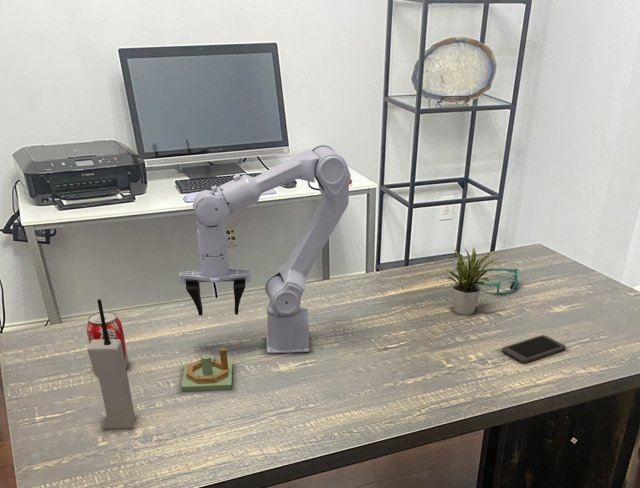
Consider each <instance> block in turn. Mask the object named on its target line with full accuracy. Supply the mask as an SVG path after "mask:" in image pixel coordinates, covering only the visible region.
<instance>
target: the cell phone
mask: <svg viewBox="0 0 640 488" xmlns="http://www.w3.org/2000/svg"><path fill="white" fill-rule="evenodd" d="M565 350H566V345H565V344H563V343H561V342H559V341H557V340H555V339H553V338H551V337H549V336H547V335H544V334H542V335H538V336H535V337H532V338H529V339H525V340H522V341H519V342H516V343H512V344H509V345H507V346H504V347H503V346H502V348H501V351H502V352H503V353H504V354H506V355H507V356H509V357H512V358H513V359H514V360H517V361H518V362H520V363H523V364H527V363H530V362H533V361H535V360H538V359H542V358H544V357H548V356H551V355H554V354H556V353H559V352H562V351H565Z"/></svg>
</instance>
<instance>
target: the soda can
mask: <svg viewBox="0 0 640 488" xmlns="http://www.w3.org/2000/svg"><path fill="white" fill-rule="evenodd" d="M103 313H104V318H105V323H106V326H107V330H108V335H109V339H120V340H121V343H122V348H123V354H124V359H125V365H126V368H127V367H128V365H129V358H128V357H129V355H128V351H127V350H128V349H127V345H126V339H125V335H124V329H123V325H122V321H121V320H120V319H119V318H118V314H117V313H115V312H113V311H109V310H103ZM85 328H86V335H87V339H88V340H87V341H88V345H89V344H90V342H91V340H100V339H104V336H103V331H102V322H101V317H100V312H99V311H97V312H94V313H91V314H89V315H88V316H87V323H86V326H85Z"/></svg>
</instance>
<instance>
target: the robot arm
mask: <svg viewBox="0 0 640 488" xmlns="http://www.w3.org/2000/svg"><path fill="white" fill-rule="evenodd" d="M351 177H352V175H351V172H350V169H349V166H348V164H347V162H346V160H345V159H344V158H343V156H341V155H339V154H338V153H337V152H336V151H335V150H334V149H333V148H332V147H331V146H330V145H327V144H320V145H317V146H314V147H313V148H310V149H309V148H308V149H305V150H303V151H301V152H300V153H298V154H296V155H294V156H293V157H291V158H289V159H286V160H285V161H283V162H281V163H279V164H277V165H275V166H273V167H272V168H270V169H267V170H266V171H263V172H262V173H260V174H258V175H256V176H251V175H248V174H243V175H240V174H239V173H237V174H235V175H233V176H232V178H233V179H232V180H230V181H227V182H225V183H223V184H221V185H218V186H217V185H216V184H215V185H213V186H211V190H208V189H205V190H201V191H199V192H198V193H197V194H196V196H195V197H194V199H193V203H192V208H193V210H194V212H195V216H196V228H197V230H196V236H197V245H198V246H197V247H198V255H199V256H198V257H199V265H200V269H195V270H189V271H180V272H179V283H180V285H185V290H186V292H187V293H188V295H189V296H190V298H191V299H192V301H193V303H194V305H195V308H196V310H197V313H198V316H200V317H201V316H203V312H204V310H203V309H204V308H203V303H202V297H201V287H200V285H201V284H200V283H210V284H216V283H217V284H218V283H221V282H222V283H224V282H227V283H228V282H229V283H230V282H233V297H234V315H239V308H240V303H241V299H242V297H243V294H244V291H245V290H246V283H251V270H249V269H248V270H247V269H246V270H245V269H235V268H229V258H228V244H227V233H226V229H225V223H224V222H225V219H226V217H227V216H231V215H233V214H235V213H237V212H239V211H242V210H244V209H246V208H248V207H251V206H253V205H254V204H257V203H258V202H259V200H260V199H261V195H262V194H264V193H266V192H268V191H271V190H273V189H276V188H279V187H282V186H284V185H286V184H289V183H291V182H293V181H296V180H301V181H306V182H309V183H315V182H317V186H318V188H319V189H318V190H319V193H320V196H321V200H320V202H319V203H318V205H317V207H316V209H315V211H314V213H313V215H312V216H311V218H310V220H309V222H308V223H307V224H306V227H305V229H304V231H303V232H302V234H301V236H300V238H299V239H298V241H297V243H296V245H295V246H294V249H293V250H292V252H291V254H290V255H289V257H288V259H287V261H286V262H285V263H284V264H282V265H281V266H279V268H278V269H277V271H276V272H275V273H273V275H270V277H269V278H268V279H267V280H266V282H265V285H264V286H265V287H264V289H265V293H266V295H267V297H268V299H269V302H268V304H267V306H266V320H267V321H266V322H267V336H266V353H267V354H288V353H291V354H293V353H309V352H310V340H311V332H310V317H309V308H306V307H300V306H301V299H302V295H303V293H304V291H305V289H306V288H305V287H306V281H307V276H308V275H309V274H310V272H311V270H312V268H313V267H314V264H315V263H316V261H317V259H318V258H319V256H320V254H321V253H322V251H323V249H324V247H325V246H326V243H328V241H329V238H330V237H331V235H332V234H333V232H334V230H335V229H336V227H337V225H338V223H339V222H340V220H341V218H342V216H343V215H344V214H345V211H346V209H347V208H348V206H349V203H350V202H349V201H350V196H349V195H350V179H351Z"/></svg>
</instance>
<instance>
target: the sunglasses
mask: <svg viewBox="0 0 640 488" xmlns="http://www.w3.org/2000/svg"><path fill="white" fill-rule="evenodd" d="M488 269H492V270H489V271H488V272H501V271H503V272H507V273H513V274H511V275H510V276H507V277H506V278H504V279H501V280H499V281H496V282H484V283H485V285H483V284H476V285H478V286H485V287H486V286H488V287H496V294H498V295H509V294H510V293H513V292H514V290H515V289H518V285H519V280H518V274H519V273H520V271H521V269H520V268H500V267H499V268H496V267H495V268H494V267H491V268H484V269H483V272H484V271H485V270H488ZM483 272H481V273H483ZM511 278H512V284H511V285H510V287H509V289H510V290H509V291H507V292H500V287H501V283H502V282H505V281H507V280H509V279H511Z"/></svg>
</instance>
